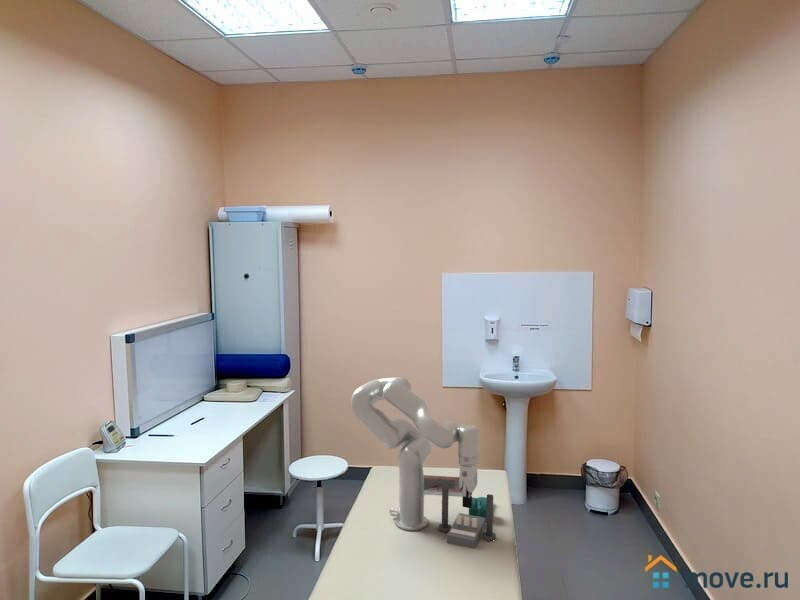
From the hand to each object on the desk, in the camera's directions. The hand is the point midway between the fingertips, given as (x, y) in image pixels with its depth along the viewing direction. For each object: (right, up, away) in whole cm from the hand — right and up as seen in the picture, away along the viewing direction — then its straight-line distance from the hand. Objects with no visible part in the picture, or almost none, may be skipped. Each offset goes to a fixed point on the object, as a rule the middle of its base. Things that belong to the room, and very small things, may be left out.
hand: (467, 506), depth 208 cm
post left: (-8, -10, +4) cm, 14 cm away
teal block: (+8, -9, +19) cm, 22 cm away
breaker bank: (0, -8, +1) cm, 8 cm away
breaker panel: (0, -11, +1) cm, 11 cm away
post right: (+8, -11, -2) cm, 14 cm away
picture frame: (-8, -8, +42) cm, 43 cm away
